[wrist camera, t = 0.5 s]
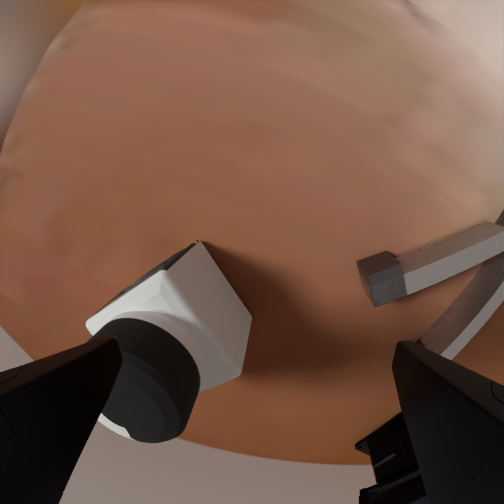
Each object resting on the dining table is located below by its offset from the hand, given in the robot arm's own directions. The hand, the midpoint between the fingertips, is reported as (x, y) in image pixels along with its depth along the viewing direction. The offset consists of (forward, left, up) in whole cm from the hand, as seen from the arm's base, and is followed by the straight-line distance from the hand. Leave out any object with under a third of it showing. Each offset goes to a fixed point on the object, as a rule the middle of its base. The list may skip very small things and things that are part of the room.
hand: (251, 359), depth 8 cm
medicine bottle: (+2, +7, -13) cm, 15 cm away
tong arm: (-9, -8, -12) cm, 17 cm away
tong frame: (-15, -9, -12) cm, 21 cm away
